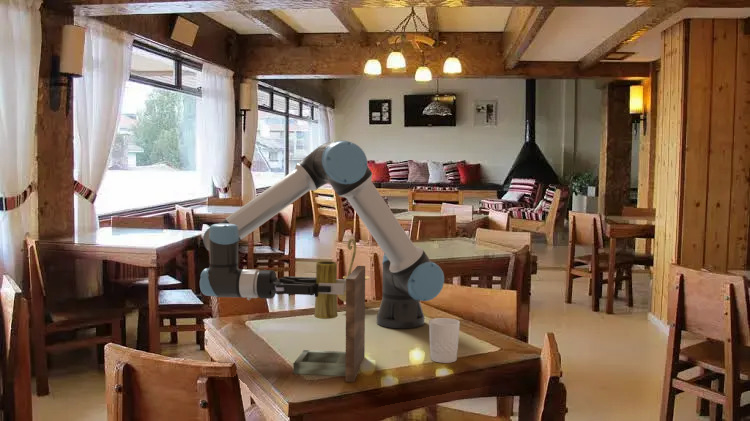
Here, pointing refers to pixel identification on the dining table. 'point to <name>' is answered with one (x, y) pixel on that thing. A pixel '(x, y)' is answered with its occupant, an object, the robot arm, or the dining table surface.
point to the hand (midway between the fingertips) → (345, 287)
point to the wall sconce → (350, 267)
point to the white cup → (444, 339)
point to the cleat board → (355, 337)
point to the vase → (326, 302)
